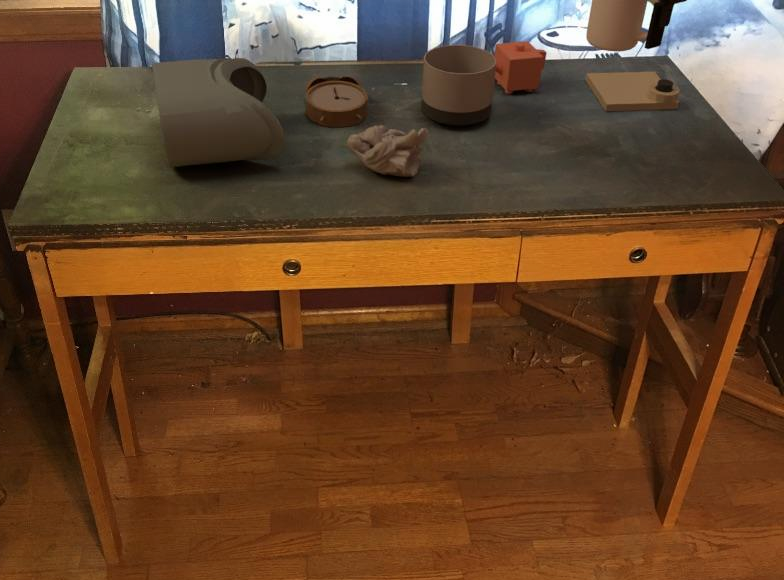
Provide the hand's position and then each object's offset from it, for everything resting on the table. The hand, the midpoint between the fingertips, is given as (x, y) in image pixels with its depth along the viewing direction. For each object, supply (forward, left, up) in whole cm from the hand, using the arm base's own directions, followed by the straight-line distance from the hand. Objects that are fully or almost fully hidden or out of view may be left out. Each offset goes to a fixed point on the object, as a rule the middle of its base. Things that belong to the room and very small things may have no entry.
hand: (623, 33), depth 135 cm
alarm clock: (+37, +31, -20) cm, 53 cm away
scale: (+15, -22, -20) cm, 33 cm away
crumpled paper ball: (+13, +34, -21) cm, 42 cm away
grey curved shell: (+34, +55, -20) cm, 68 cm away
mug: (0, 0, -2) cm, 2 cm away
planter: (+24, +13, -20) cm, 34 cm away
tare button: (+9, -24, -18) cm, 31 cm away
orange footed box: (+29, -4, -20) cm, 36 cm away
